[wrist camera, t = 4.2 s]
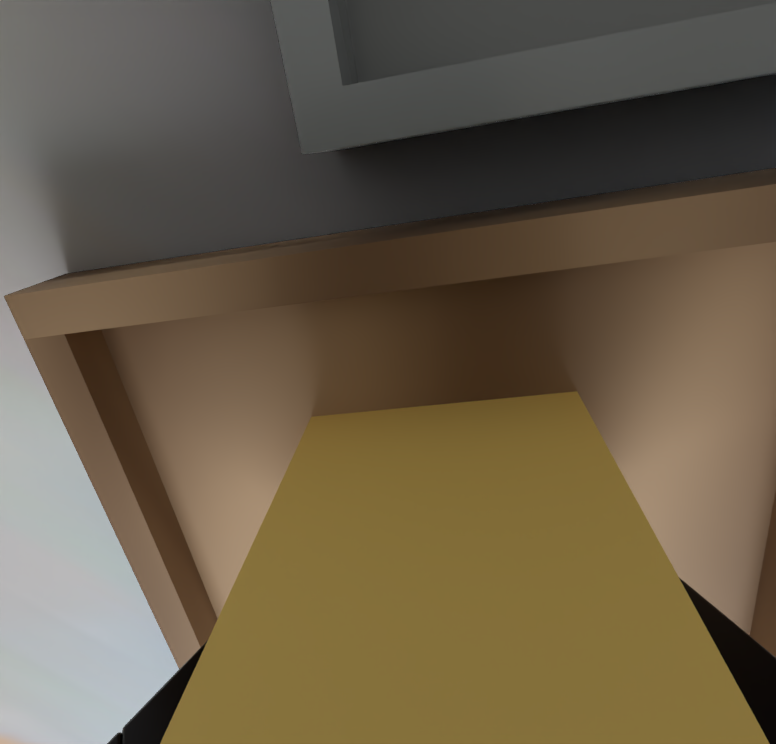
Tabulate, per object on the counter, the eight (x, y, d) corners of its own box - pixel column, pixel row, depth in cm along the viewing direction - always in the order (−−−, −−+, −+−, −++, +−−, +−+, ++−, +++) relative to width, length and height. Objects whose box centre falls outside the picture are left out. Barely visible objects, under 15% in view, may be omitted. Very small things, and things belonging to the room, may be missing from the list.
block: (577, 391, 8) (784, 768, 3) (579, 593, 10) (714, 1036, 5) (311, 416, 9) (151, 762, 4) (357, 602, 11) (286, 1002, 6)
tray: (859, 155, 7) (951, 158, 6) (748, 720, 12) (785, 789, 11) (65, 273, 9) (4, 296, 8) (251, 722, 14) (232, 781, 13)
